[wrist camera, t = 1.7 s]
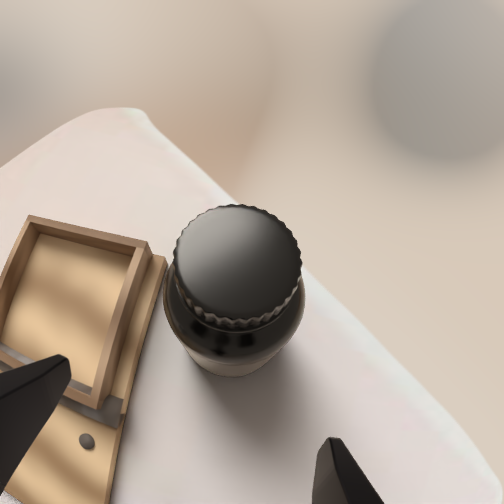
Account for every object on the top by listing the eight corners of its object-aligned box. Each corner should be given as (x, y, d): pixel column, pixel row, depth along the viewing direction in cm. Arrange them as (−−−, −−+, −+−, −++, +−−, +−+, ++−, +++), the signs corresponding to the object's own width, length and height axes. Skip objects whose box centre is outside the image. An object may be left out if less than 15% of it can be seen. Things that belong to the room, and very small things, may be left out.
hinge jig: (104, 539, 13) (90, 553, 10) (-23, 461, 13) (-44, 462, 10) (167, 263, 24) (159, 244, 21) (37, 231, 24) (21, 213, 21)
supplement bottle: (283, 373, 20) (344, 345, 10) (185, 379, 20) (139, 358, 9) (272, 283, 24) (311, 182, 13) (183, 287, 23) (149, 187, 12)
